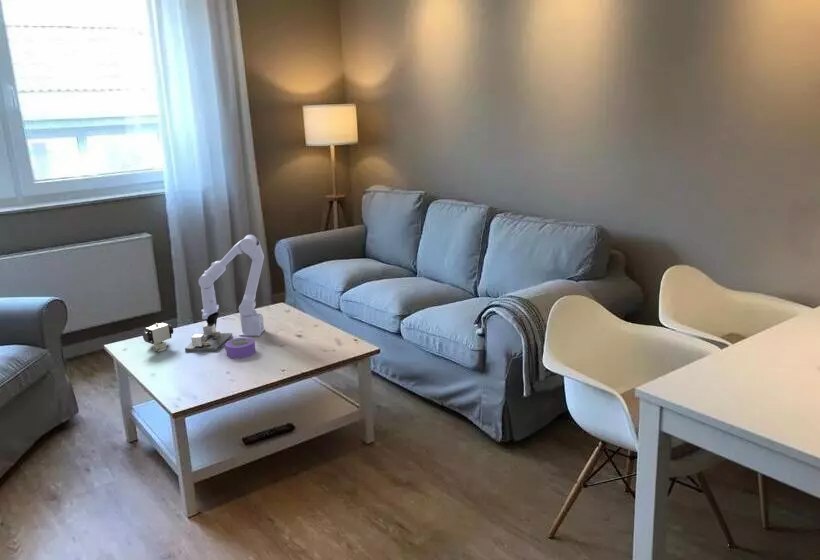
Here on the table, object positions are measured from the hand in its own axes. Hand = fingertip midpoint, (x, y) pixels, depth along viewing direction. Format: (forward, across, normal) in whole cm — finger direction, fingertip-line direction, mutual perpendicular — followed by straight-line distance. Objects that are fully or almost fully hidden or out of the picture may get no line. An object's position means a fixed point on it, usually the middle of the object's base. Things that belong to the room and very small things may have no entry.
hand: (213, 329), depth 309 cm
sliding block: (+1, +4, +1) cm, 4 cm away
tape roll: (+3, +21, +20) cm, 29 cm away
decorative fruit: (+3, +10, -21) cm, 24 cm away
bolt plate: (+3, +10, +2) cm, 11 cm away
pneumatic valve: (+3, +17, -17) cm, 24 cm away
